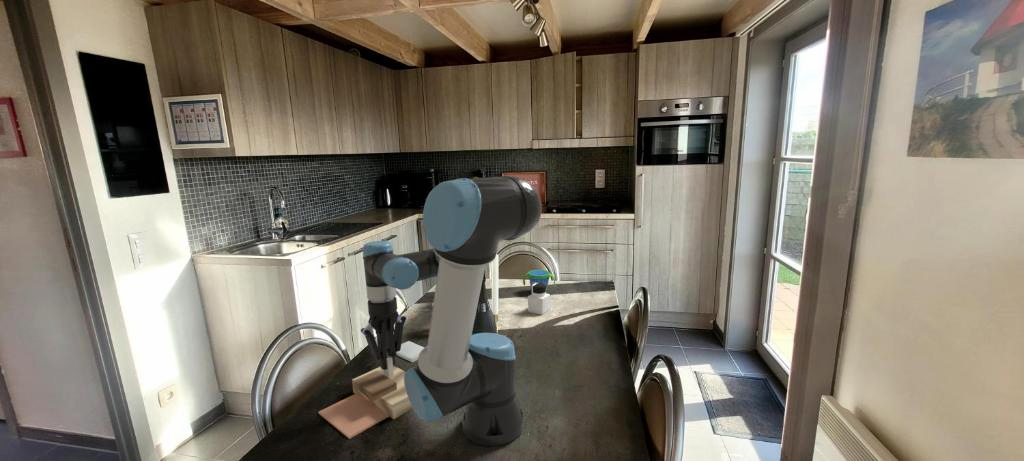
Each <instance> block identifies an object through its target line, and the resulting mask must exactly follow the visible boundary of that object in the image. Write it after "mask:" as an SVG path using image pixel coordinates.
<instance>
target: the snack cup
mask: <svg viewBox="0 0 1024 461" xmlns="http://www.w3.org/2000/svg"><path fill="white" fill-rule="evenodd" d="M526 276H528V278H529V284H530V285H529V286H530V292H531V293H532V285H533V284H535V283H543V284H545V285H546V293H547V292H548V287H549V280H550V277H551V279H552V280H553V288H555V286H556V278H555V276H554V275H553V274H552V273H550V271H549V270H544V269H531V270H530V271H528V272H526V273H525V274H524V276H523V277H522V278H523V279H522V283H523V284H522V285H523V286H526V279H525V278H526ZM547 294H548V293H547Z"/></svg>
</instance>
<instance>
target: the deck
mask: <svg viewBox="0 0 1024 461" xmlns="http://www.w3.org/2000/svg"><path fill="white" fill-rule="evenodd" d="M375 371H378V372H380V373H381V374H383V375H384V371H383V369H381V367H380V366H378V367H377V368H374V369H372V370H370V371H368V372H366V373H364V374H362V375H359V376H357V377H355V378H352V379H351V381H352V382H351V383H352V391H353V393H354V394H356V393H358V394H359V395H361V396H362V397H364V398H365V399H367V400H368V401H370V402H371V403H373V404H374V405H375V406H377V407H378V408H380V409H381V410H383V411H384V412H386V413H387V414H389V417H388V418H391V419H393V420H396V419H397V418H399V417H400V416H401V415H404V414H405V413H407V412H409V411H410V410H413V407H412V405H411V403H410V401H409V398H408V395H407V392H406V389H405V384H404V375H405V373H406V371H405V370H403V369H401V368H399V367H398V366H396V365H394V366H393V372H394V379H392V380H393V381H395V382H396V383H397V390H395V391H393V392H391V393H389V394H387V395H385V396H383V397H381V398H379V399H377V400H375V401H373V400H371V399H370V398H369V397H367V396H366V395H364V394H363V393H361V392H360V391H358V390H357V389H356V388H354V381H355V380H357V379H360V378H362V377H364V376H366V375H368V374H371V373H373V372H375Z"/></svg>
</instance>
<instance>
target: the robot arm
mask: <svg viewBox="0 0 1024 461" xmlns="http://www.w3.org/2000/svg"><path fill="white" fill-rule="evenodd" d="M542 206H543V205H542V200H541V197H540V194H539V192H538V190H537V189H536V188H535V186H533V185H532V184H531V183H530V182H528V180H525V179H523V178H521V177H519V176H516V175H515V176H514V175H513V176H512V175H502V176H501V175H500V176H493V177H492V176H491V177H477V178H476V177H475V178H473V177H472V178H467V177H460V178H456V179H453V180H447V181H442V182H440V183H438V185H435V186H434V187H433V188H432V190H430V192H429V193H428V195H427V197H426V199H425V203H424V206H423V214H422V224H423V225H424V229H423V232H424V235H425V237H426V240H427V242H428V243H429V245H430V246H431V247H432V248H428V249H423V250H418V251H414V252H413V251H412V252H406V253H402V254H395V253H394V249H393V244H392V243H391V242H390V241H388V240H376V241H375V240H374V241H370V242H366V243H364V245H363V247H362V260H363V267H364V268H363V269H364V277H365V279H364V280H365V286H366V288H365V289H366V297H367V310H368V317H369V319H368V321H367V322H368V324H367V325H366V326H365V327H362V328H361V329H360V332H361V334H363V336H364V337H365V339H366V342H367V345H368V348H369V351H370V354H371V357H372V358H374V359H375V360H378V361H379V363H380V364H379V365H380V366H379V367H381V369H383V371H384V375H385V376H386V377H388V378H390V379H391V380H392V379H394V372H393V366H396V357H397V356H398V355H397V354H396V352H397V351H400V349H401V344H402V339H403V333H404V325H405V322H406V320H407V317H406V316H405V315H402V314H399V312H398V299H397V297H396V296H397V290H404V291H405V290H408V289H410V288H412V286H414V285H415V284H416V283H417V282H419V281H423V280H424V281H426V280H428V279H431V278H436V282H435V283H436V284H435V290H434V297H433V302H434V303H433V302H432V303H433V310H432V309H431V317H430V324H429V332H428V337H427V338H428V339H427V345H426V346H425V347H424V349H423V350H422V351H421V352H420V354H419V357H418V360H417V361H416V362H417V363H416V364H417V365H416V366H415V367H410V368H409V369H408V370H406V371H405V372H406V373H405V375H404V384H405V389H406V392H407V395H408V398H409V401H410V403H411V405H412V407H413V408H412V410H414V412H415V414H416V415H417V416H418V417H419V419H421V420H422V421H423V422H426V423H432V422H434V421H436V420H438V419H443V418H444V417H446V416H449V415H450V414H452V413H454V412H456V411H457V410H458V411H459V409H462V408H463V407H465V410H464V413H463V416H462V432H463V434H464V436H465V438H467V439H468V440H469V441H470V442H471V443H474V444H476V445H478V446H479V445H480V446H483V447H497V446H503V445H506V444H509V443H512V442H513V441H514V440H516V439H517V438H518V437H520V435H521V434H522V432H523V431H524V427H525V419H524V418H525V417H524V412H523V410H522V408H521V405H520V402H519V400H518V397H517V388H516V387H517V386H516V383H517V382H516V359H517V357H516V353H515V345H514V342H513V341H512V340H511V339H510V338H509V337H507V336H505V335H502V334H499V333H495V332H479V333H474V334H473V329H474V325H475V320H476V316H477V310H478V306H479V305H478V304H479V299H480V294H481V289H482V284H483V280H484V274H485V270H486V266H487V265H489V264H491V263H492V262H493V261H494V260H495V259H496V257H497V252H498V248H499V244H500V243H501V242H503V241H506V242H507V241H508V242H509V241H510V242H511V241H514V240H518V238H520V237H522V236H523V235H526V234H528V233H530V232H531V231H532V230H533V229H535V227H536V226H537V225H538V224H539V222H540V219H541V215H542V211H543V210H542ZM373 330H374V331H375V334H376V339H375V336H374V334H373V333H374V331H373Z"/></svg>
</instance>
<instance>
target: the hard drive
mask: <svg viewBox="0 0 1024 461" xmlns="http://www.w3.org/2000/svg"><path fill="white" fill-rule="evenodd" d="M424 348H425V347H424V346H421V345H419V344H417V343H415V342H412V341H410V340H408V341H405V342H403V343H401V349H400V351H397V352H396V354H397V355H396V356H398V357H400V358H401V359H404V360H406V361H408V362H410V363H414V362H417V361H418V357H419V354H420V352H421V351H422V350H423V349H424Z"/></svg>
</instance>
